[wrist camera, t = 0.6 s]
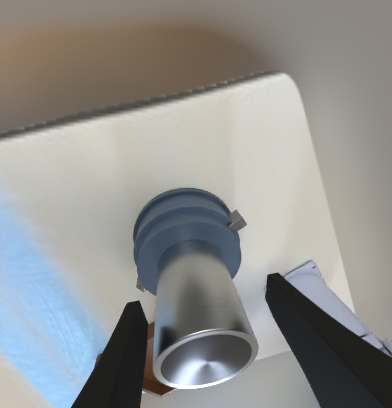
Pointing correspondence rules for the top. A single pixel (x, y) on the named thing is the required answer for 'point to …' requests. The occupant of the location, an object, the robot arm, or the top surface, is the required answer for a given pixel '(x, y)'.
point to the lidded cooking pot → (184, 230)
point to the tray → (151, 369)
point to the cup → (199, 319)
